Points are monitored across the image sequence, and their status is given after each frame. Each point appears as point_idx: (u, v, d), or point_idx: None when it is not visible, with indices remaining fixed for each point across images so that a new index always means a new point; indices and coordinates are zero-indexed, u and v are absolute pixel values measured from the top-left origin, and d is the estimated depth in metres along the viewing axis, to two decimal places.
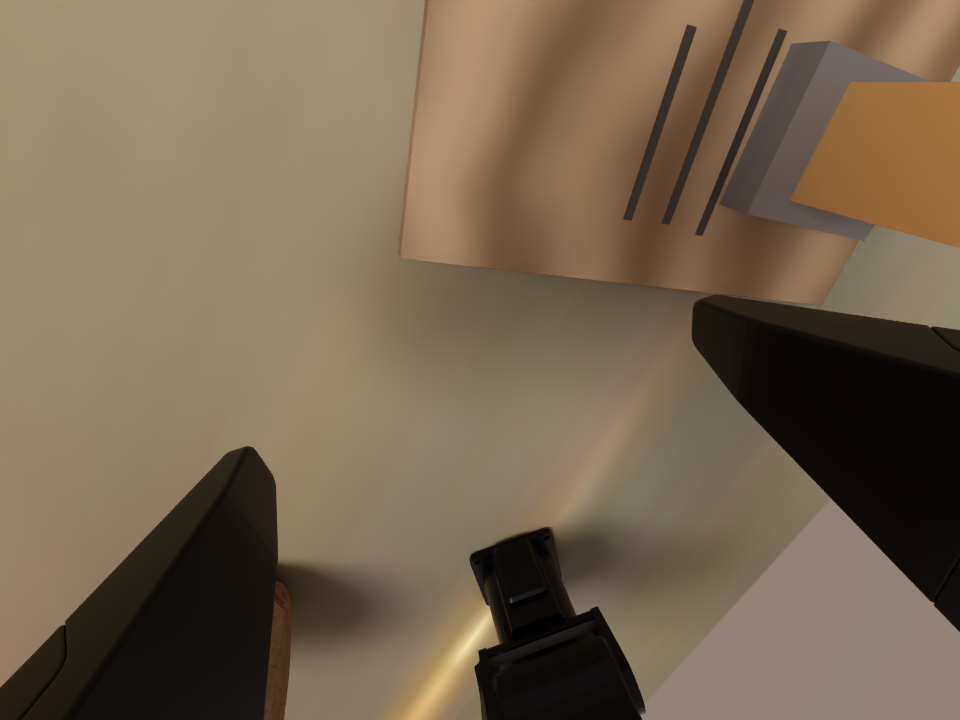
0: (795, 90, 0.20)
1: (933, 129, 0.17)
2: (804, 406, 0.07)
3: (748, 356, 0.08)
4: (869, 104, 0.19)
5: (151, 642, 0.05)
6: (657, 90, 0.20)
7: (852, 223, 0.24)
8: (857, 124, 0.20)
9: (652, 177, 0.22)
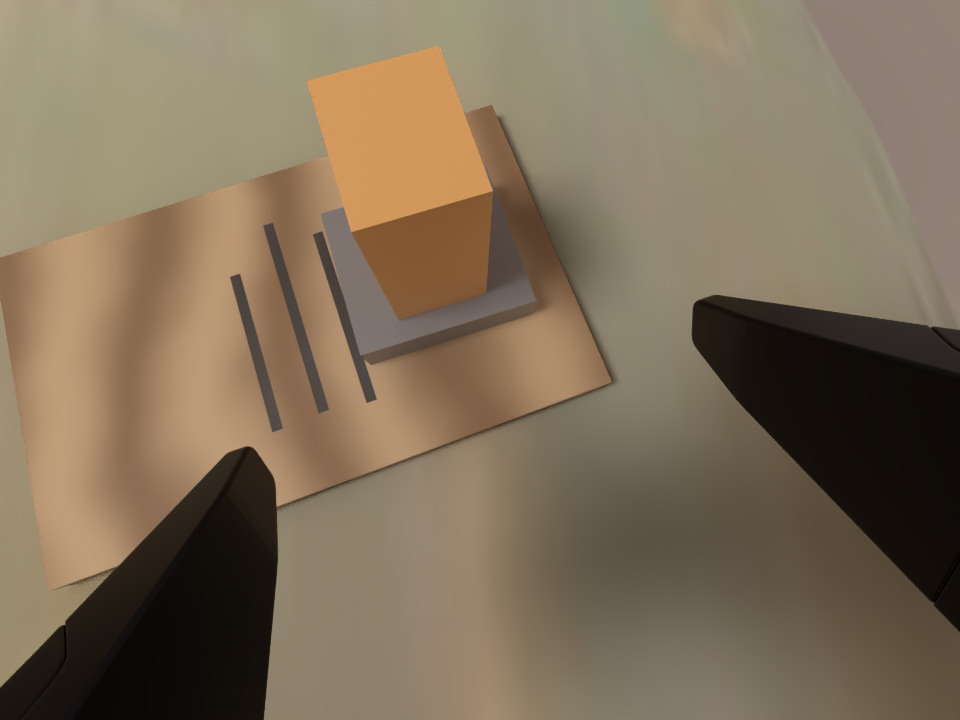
0: None
1: None
2: (804, 406, 0.07)
3: (748, 356, 0.08)
4: None
5: (151, 642, 0.05)
6: (234, 325, 0.22)
7: (500, 296, 0.21)
8: None
9: (277, 383, 0.22)
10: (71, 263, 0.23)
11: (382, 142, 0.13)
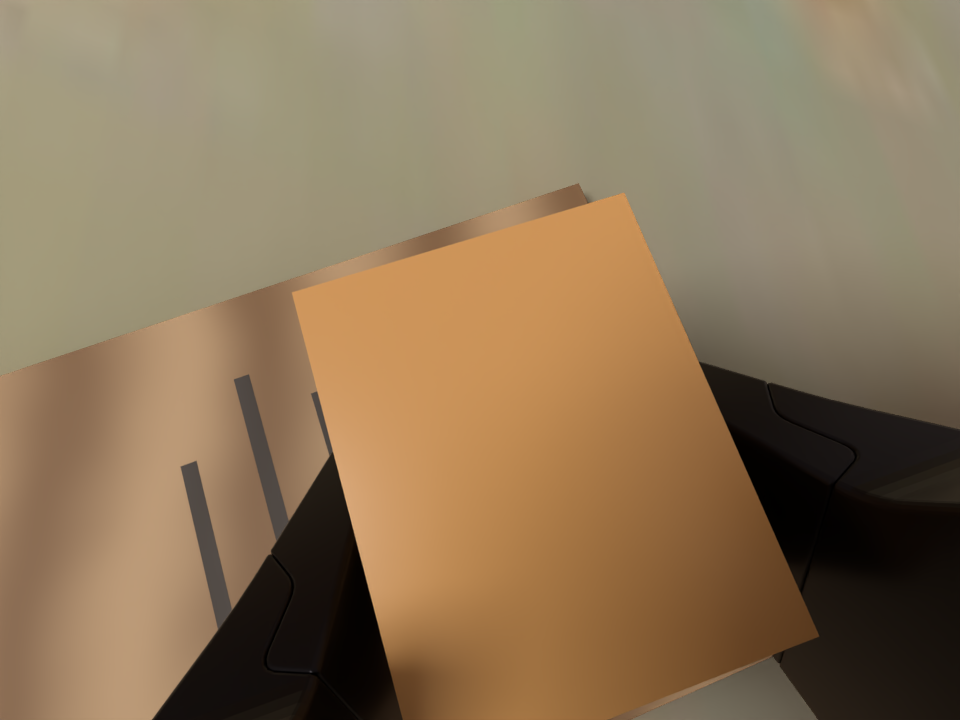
0: None
1: None
2: None
3: None
4: None
5: (360, 569, 0.05)
6: (186, 550, 0.14)
7: None
8: None
9: None
10: None
11: (497, 476, 0.05)
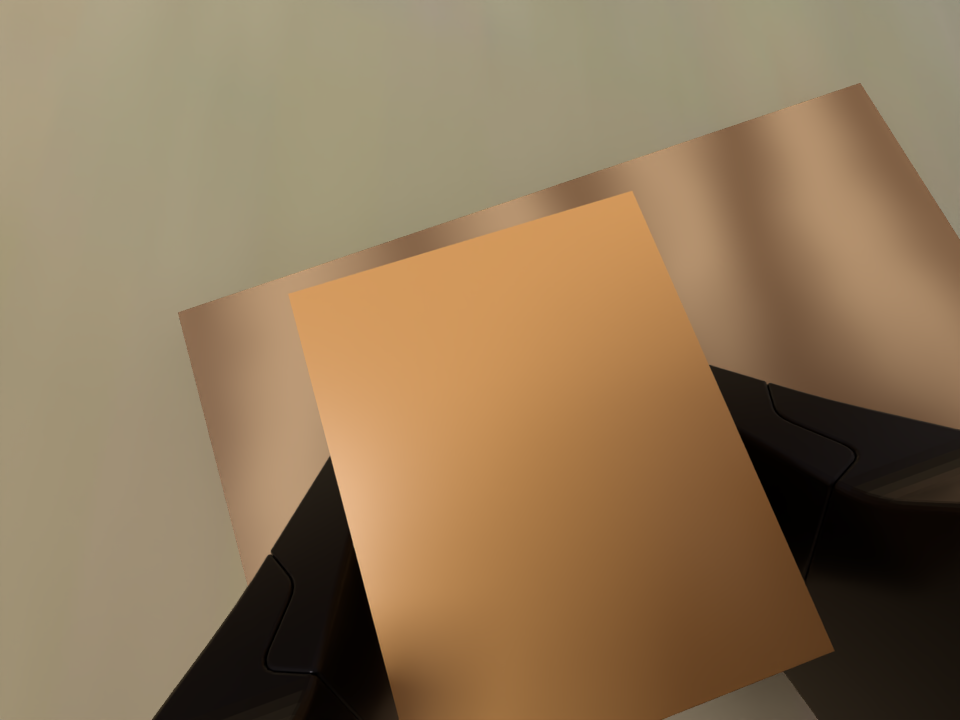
0: None
1: None
2: None
3: None
4: None
5: None
6: None
7: None
8: None
9: None
10: (292, 317, 0.15)
11: (501, 485, 0.05)
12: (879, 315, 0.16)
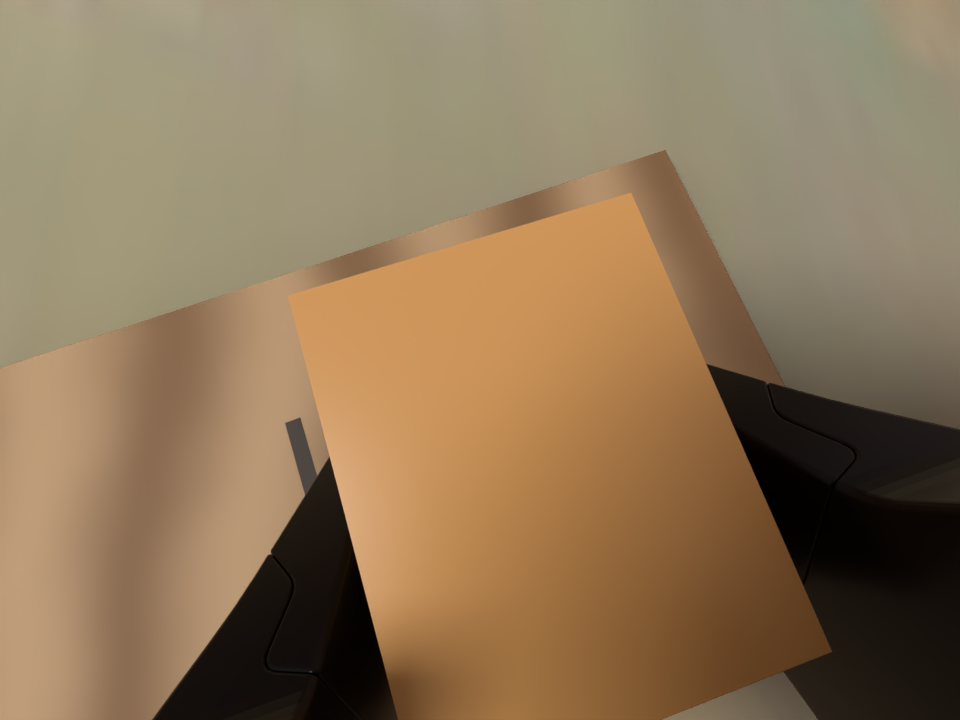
0: None
1: None
2: None
3: None
4: None
5: None
6: (294, 504, 0.14)
7: None
8: None
9: None
10: (39, 401, 0.15)
11: (500, 486, 0.05)
12: None
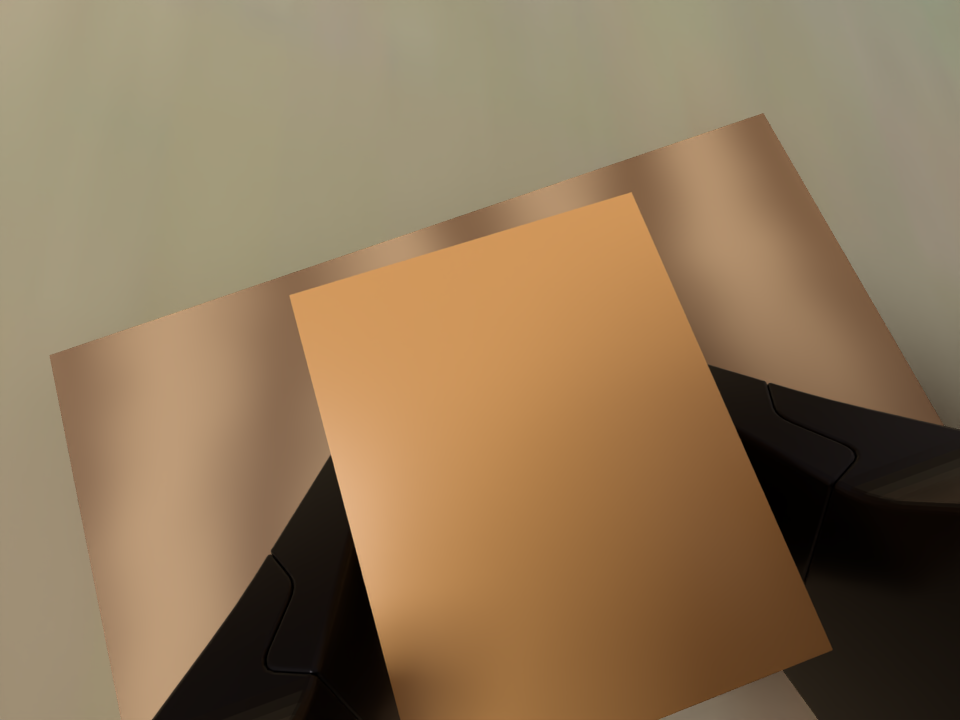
0: None
1: None
2: None
3: None
4: None
5: (360, 569, 0.05)
6: None
7: None
8: None
9: None
10: (167, 360, 0.15)
11: (502, 485, 0.05)
12: (771, 355, 0.15)
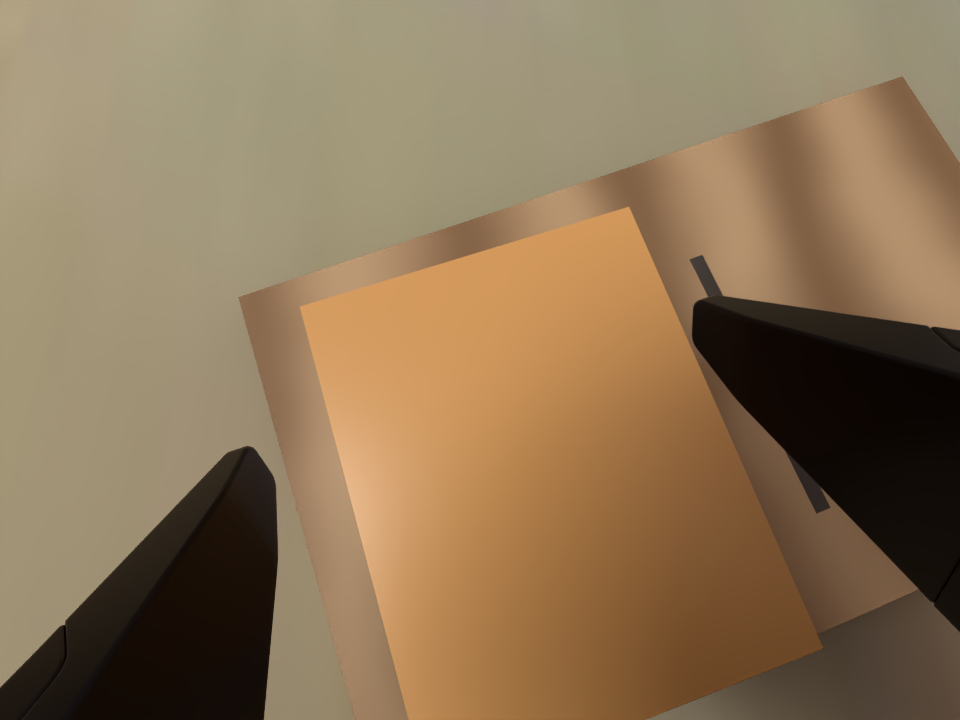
0: None
1: None
2: (804, 406, 0.07)
3: (748, 356, 0.08)
4: None
5: (151, 642, 0.05)
6: None
7: None
8: None
9: None
10: None
11: (505, 490, 0.05)
12: (926, 303, 0.16)
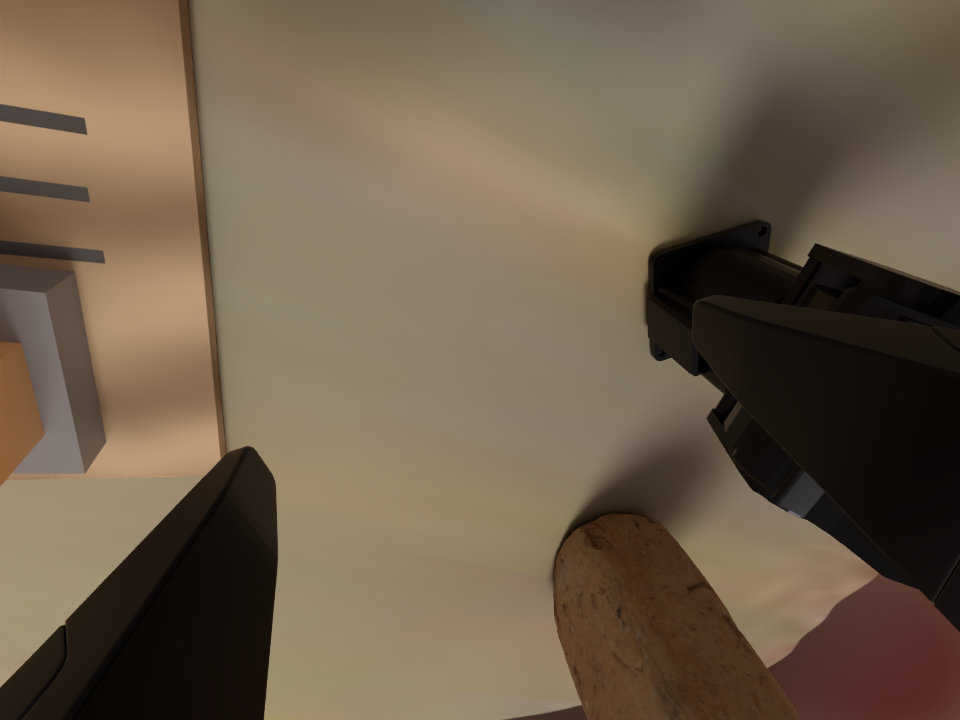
0: None
1: None
2: (804, 406, 0.07)
3: (748, 356, 0.08)
4: None
5: (151, 642, 0.05)
6: None
7: (29, 329, 0.16)
8: None
9: (29, 234, 0.16)
10: None
11: None
12: None
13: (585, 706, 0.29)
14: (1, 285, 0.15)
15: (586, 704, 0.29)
